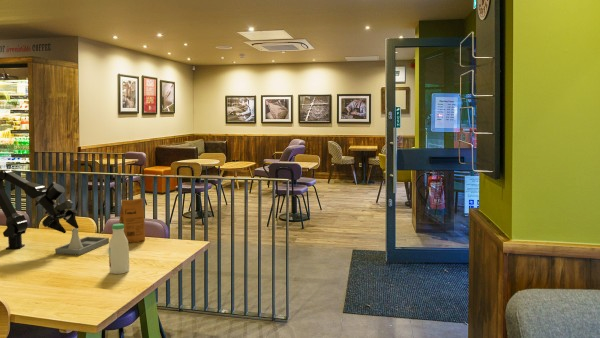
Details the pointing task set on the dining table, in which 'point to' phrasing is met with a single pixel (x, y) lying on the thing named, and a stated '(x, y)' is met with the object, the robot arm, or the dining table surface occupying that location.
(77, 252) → the caddy tray
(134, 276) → the dining table surface
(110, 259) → the milk bottle
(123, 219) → the coffee package
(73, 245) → the flask
